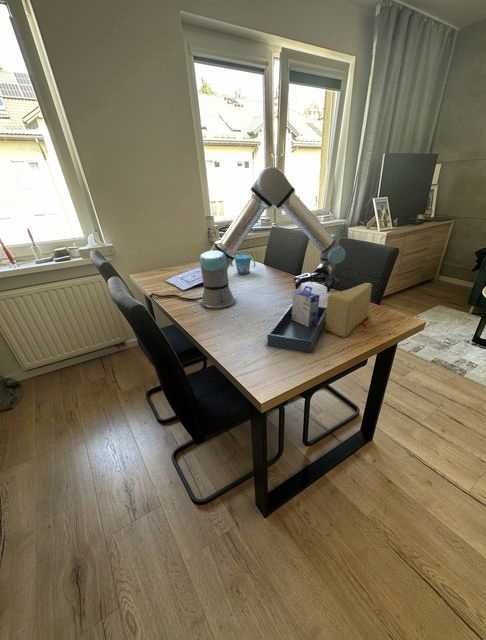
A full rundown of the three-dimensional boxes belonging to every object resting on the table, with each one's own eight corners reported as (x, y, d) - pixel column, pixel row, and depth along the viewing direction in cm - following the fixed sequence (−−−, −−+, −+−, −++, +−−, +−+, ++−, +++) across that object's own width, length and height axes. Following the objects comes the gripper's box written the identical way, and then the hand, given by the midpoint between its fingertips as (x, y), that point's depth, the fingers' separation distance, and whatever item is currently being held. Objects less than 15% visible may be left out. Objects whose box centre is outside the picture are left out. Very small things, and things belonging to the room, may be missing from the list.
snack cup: (257, 270, 180) (257, 254, 175) (252, 275, 172) (251, 258, 166) (235, 269, 184) (234, 253, 179) (229, 274, 176) (227, 257, 170)
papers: (228, 276, 167) (227, 270, 165) (184, 294, 153) (182, 288, 151) (207, 268, 183) (206, 263, 181) (166, 284, 169) (164, 279, 167)
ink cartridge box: (318, 323, 112) (321, 289, 105) (308, 327, 109) (311, 292, 102) (300, 316, 119) (301, 283, 111) (291, 320, 116) (292, 286, 108)
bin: (267, 345, 100) (267, 334, 97) (291, 312, 123) (291, 303, 121) (310, 353, 95) (311, 341, 92) (326, 317, 118) (327, 307, 115)
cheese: (355, 313, 121) (360, 279, 113) (376, 320, 114) (383, 284, 106) (323, 329, 109) (327, 293, 101) (344, 338, 102) (350, 300, 94)
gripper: (348, 283, 131) (341, 299, 115) (297, 278, 140) (283, 293, 123) (350, 267, 127) (343, 281, 111) (297, 263, 136) (283, 276, 119)
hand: (311, 287), depth 117 cm, fingers open, 13 cm apart
